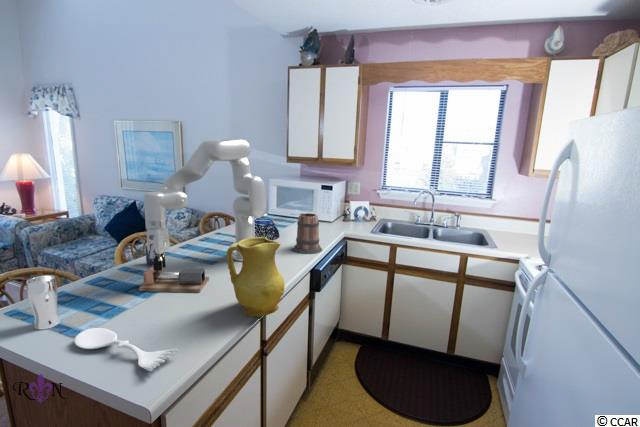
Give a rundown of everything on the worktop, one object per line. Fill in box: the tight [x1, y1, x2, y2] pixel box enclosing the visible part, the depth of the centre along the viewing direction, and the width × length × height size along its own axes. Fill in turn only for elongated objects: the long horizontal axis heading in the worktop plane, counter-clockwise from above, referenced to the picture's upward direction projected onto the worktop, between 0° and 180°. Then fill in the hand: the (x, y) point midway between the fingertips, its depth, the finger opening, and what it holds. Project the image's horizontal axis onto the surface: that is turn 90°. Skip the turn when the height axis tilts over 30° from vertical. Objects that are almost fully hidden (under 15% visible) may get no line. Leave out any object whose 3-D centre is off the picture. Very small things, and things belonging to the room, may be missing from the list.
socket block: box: [143, 267, 157, 284], centre depth 130 cm, size 4×5×5 cm
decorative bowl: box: [254, 213, 280, 241], centre depth 205 cm, size 20×20×14 cm
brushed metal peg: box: [153, 256, 180, 280], centre depth 130 cm, size 15×3×10 cm, turn 92°
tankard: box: [292, 212, 323, 255], centre depth 185 cm, size 24×17×20 cm
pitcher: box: [226, 236, 285, 318], centre depth 114 cm, size 17×19×25 cm
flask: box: [145, 244, 157, 266], centre depth 152 cm, size 9×3×11 cm, turn 74°
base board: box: [138, 276, 210, 293], centre depth 132 cm, size 23×12×2 cm, turn 92°
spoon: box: [73, 327, 179, 372], centre depth 89 cm, size 9×32×4 cm, turn 68°
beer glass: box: [25, 274, 61, 331], centre depth 100 cm, size 7×7×15 cm
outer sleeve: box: [179, 267, 206, 285], centre depth 131 cm, size 8×5×5 cm, turn 92°
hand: (159, 268), depth 130 cm, fingers closed on brushed metal peg, 2 cm apart
